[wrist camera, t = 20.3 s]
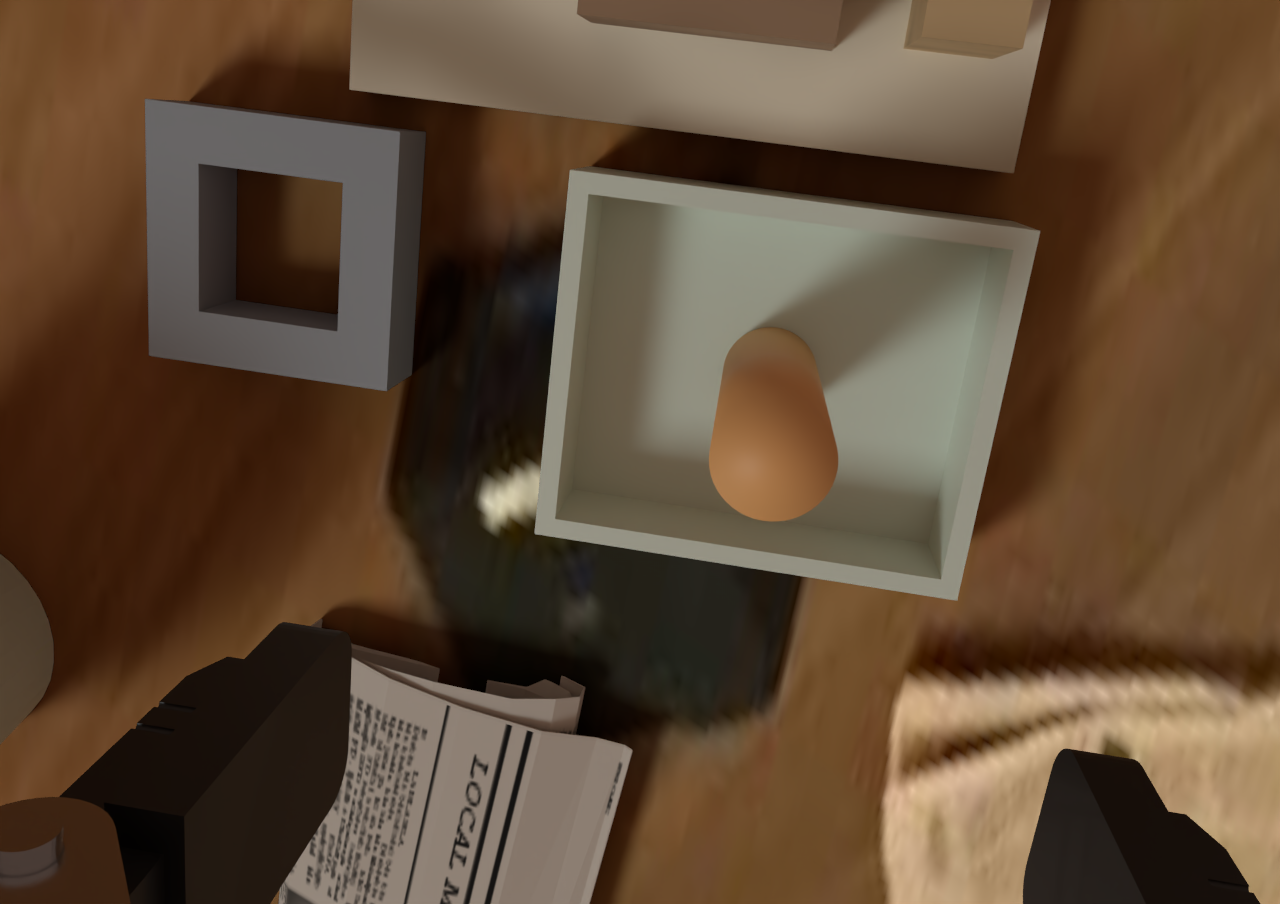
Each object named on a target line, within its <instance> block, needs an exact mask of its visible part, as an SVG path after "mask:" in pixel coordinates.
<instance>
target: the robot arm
mask: <svg viewBox="0 0 1280 904" xmlns="http://www.w3.org/2000/svg"><path fill="white" fill-rule="evenodd" d="M351 666H352V645H351V639H350V637H349V635H348V633H346V632H343V631H337V630H331V629H324V628H318V627H312V626H306V625H299V624H293V623H287V622H283V623H280V624H279V625H278V626H276V627H275V628H274V629H273V630H272V631H271V632H270V634H269V635H268V636H267V637H266V638H265V639H264V640H263V641H262V642H261V643H260V644H259V645H258V646H257V647H256V648H255V649H254V650H253V651H252V652H251V653H250V654H249V655H248V656H247V657H246V658H245V659H239V658H232V657H226V658H224V659H222V660H220V661H218V662H215V663H213V664H211V665H209V666H207V667H205V668H203V669H201V670H198V671H196V672H194V673H192V674H190V675H188V676H186V677H185V678H184V679H183V680H182V681H181V682H180V683H179V684H178V685H177V686H176V687H175V688H174V689H173V690H171V691H170V692H169V693H168V694H167V695H166V696H165V697H164V698H163V699H162V700H161V701H160V703H159V706H158V707H153V708H152V709H151V710H150V711H149V712H148V713H147V714H146V715H145V716H144V717H143V718H142V719H141V720H140V721H139V722H138V723H137V726H136V729H130V730H129V731H128V732H127V733H126V734H125V735H124V736H123V737H122V738H121V739H120V740H119V741H118V742H117V743H115V744H114V745H113V746H112V747H111V748H110V749H109V750H108V751H107V752H106V753H105V754H104V755H103V756H102V757H101V758H100V759H99V760H97V761H96V762H95V763H94V764H93V765H92V766H91V767H90V768H89V769H88V770H87V771H86V772H85V773H84V774H83V775H82V776H81V777H80V778H78V779H77V780H76V781H75V782H74V783H73V784H72V785H71V786H70V787H69V788H68V789H67V790H66V791H65V792H64V793H63V794H62V795H61V796H59V797H45V798H34V799H27V800H21V801H17V802H13V803H9V804H5V805H2V806H0V904H270V903H271V902H272V900H273V898H274V897H275V895H276V894H277V892H278V891H279V889H280V887H281V886H282V884H283V883H284V881H285V880H286V878H287V877H288V875H289V873H290V872H291V870H292V869H293V867H294V866H295V864H296V862H297V861H298V859H299V858H300V856H301V855H302V853H303V852H304V850H305V848H306V847H307V845H308V844H309V842H310V841H311V839H312V838H313V836H314V834H315V833H316V831H317V830H318V828H319V827H320V825H321V823H322V822H323V820H324V819H325V817H326V816H327V814H328V813H329V811H330V809H331V808H332V806H333V804H334V802H335V800H336V798H337V796H338V793H339V791H340V788H341V785H342V781H343V778H344V774H345V769H346V764H347V758H348V747H349V720H350V693H351ZM1248 887H1249V885H1248V884H1247V882H1246V880H1245V879H1244V877H1243V876H1242V874H1241V872H1240V871H1239V869H1238V868H1237V866H1236V865H1235V863H1234V861H1233V860H1232V858H1231V857H1230V855H1229V853H1228V852H1227V850H1226V849H1225V848H1224V847H1223V846H1222V845H1220V844H1219V843H1218V842H1217V841H1216V840H1215V839H1214V838H1212V837H1211V836H1210V835H1209V834H1208V833H1207V832H1205V831H1204V830H1203V829H1202V828H1201V827H1200V826H1199V825H1197V824H1196V823H1195V822H1194V821H1193V820H1192V819H1190V818H1189V817H1188V816H1187V815H1185V814H1179V813H1173V812H1168V810H1167V809H1166V807H1165V805H1164V803H1163V802H1162V800H1161V798H1160V797H1159V795H1158V793H1157V791H1156V790H1155V788H1154V786H1153V784H1152V783H1151V781H1150V779H1149V778H1148V776H1147V774H1146V772H1145V771H1144V769H1143V767H1142V766H1141V764H1140V763H1139V762H1138V761H1136V760H1134V759H1128V758H1122V757H1116V756H1110V755H1103V754H1097V753H1091V752H1084V751H1078V750H1072V749H1063V750H1062V751H1061V752H1060V753H1059V754H1058V756H1057V757H1056V759H1055V762H1054V764H1053V767H1052V771H1051V774H1050V778H1049V782H1048V786H1047V789H1046V793H1045V797H1044V801H1043V804H1042V808H1041V812H1040V816H1039V820H1038V823H1037V827H1036V831H1035V835H1034V838H1033V842H1032V846H1031V850H1030V854H1029V857H1028V861H1027V865H1026V870H1025V876H1024V885H1023V904H1260V903H1259V901H1258V899H1257V898H1256V896H1255V895H1254V893H1250V892H1249V890H1248Z"/></svg>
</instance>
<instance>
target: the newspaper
mask: <svg viewBox="0 0 1280 904" xmlns="http://www.w3.org/2000/svg"><path fill="white" fill-rule="evenodd" d="M322 620H323V619H320V620H318V621H317V622H316V623H314V624H313V625H311V626H312V627H318V628H322ZM337 631H339V630H337ZM351 645H352V666H351V693H350V720H349V747H348V758H347V764H346V769H345V774H344V778H343V781H342V785H341V788H340V791H339V793H338V796H337V798H336V800H335V802H334V804H333V806H332V808H331V809H330V811H329V813H328V814H327V816H326V817H325V819H324V820H323V822H322V823H321V825H320V827H319V828H318V830H317V831H316V833H315V834H314V836H313V838H312V839H311V841H310V842H309V844H308V845H307V847H306V848H305V850H304V852H303V853H302V855H301V856H300V858H299V859H298V861H297V862H296V864H295V866H294V867H293V869H292V870H291V872H290V873H289V875H288V877H287V878H286V880H285V881H284V883H283V884H282V886H281V887H280V894H279V903H278V904H590V901H591V898H592V894H593V890H594V887H595V883H596V880H597V876H598V873H599V869H600V866H601V862H602V859H603V855H604V851H605V848H606V844H607V841H608V837H609V834H610V830H611V827H612V823H613V820H614V816H615V812H616V809H617V805H618V802H619V798H620V795H621V791H622V788H623V784H624V781H625V777H626V773H627V770H628V766H629V763H630V759H631V756H632V752H633V750H632V749H631V748H629V747H628V746H626V745H624V744H620V743H617V742H613V741H609V740H605V739H601V738H598V737H590V736H581V735H576V731H577V726H578V721H579V716H580V711H581V706H582V701H583V697H584V692H585V687H584V686H582V685H580V684H578V683H576V682H574V681H572V680H570V679H568V678H566V677H564V676H561V680H560V685H559V686H558V685H557V684H555V683H553V682H550V681H548V680H546V679H545V680H542V681H540V682H537V683H535V684H533V685H530V686H528V687H524V686H518V685H513V684H507V683H501V682H496V681H490V680H487V685H486V692H485V693H483V692H478V691H473V690H469V689H464V688H460V687H455V686H451V685H446V684H442V683H438V677H439V671H440V669H439V668H437V667H434V666H431V665H428V664H425V663H422V662H419V661H416V660H413V659H409V658H405V657H401V656H397V655H393V654H389V653H385V652H381V651H377V650H373V649H369V648H366V647H362V646H358V645H355V644H352V643H351Z"/></svg>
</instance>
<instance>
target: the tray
mask: <svg viewBox="0 0 1280 904" xmlns="http://www.w3.org/2000/svg"><path fill="white" fill-rule="evenodd" d="M1039 235H1040V231H1039V230H1037V229H1034V228H1031V227H1028V226H1026V225H1023V224H1020V223H1017V222H1015V221H1010V220H1002V219H995V218H987V217H979V216H971V215H964V214H956V213H948V212H940V211H933V210H925V209H917V208H910V207H902V206H894V205H886V204H879V203H871V202H863V201H856V200H848V199H840V198H832V197H825V196H817V195H809V194H801V193H794V192H786V191H778V190H771V189H763V188H755V187H747V186H740V185H732V184H724V183H717V182H709V181H701V180H693V179H686V178H678V177H670V176H662V175H655V174H647V173H639V172H632V171H624V170H616V169H608V168H601V167H593V166H589V167H583V168H577V169H572V170H570V175H569V185H568V195H567V206H566V216H565V226H564V237H563V247H562V257H561V267H560V278H559V288H558V298H557V309H556V319H555V329H554V339H553V350H552V360H551V370H550V380H549V391H548V401H547V411H546V422H545V432H544V442H543V452H542V463H541V473H540V483H539V494H538V504H537V514H536V524H535V534H539V535H545V536H551V537H558V538H564V539H570V540H577V541H583V542H589V543H596V544H602V545H608V546H615V547H621V548H627V549H634V550H640V551H646V552H653V553H659V554H665V555H672V556H678V557H684V558H691V559H697V560H703V561H710V562H716V563H722V564H729V565H735V566H741V567H748V568H754V569H760V570H767V571H773V572H779V573H785V574H792V575H798V576H804V577H811V578H817V579H823V580H830V581H836V582H842V583H849V584H855V585H861V586H868V587H874V588H880V589H887V590H893V591H899V592H906V593H912V594H918V595H925V596H931V597H937V598H944V599H950V600H956V601H957V598H958V594H959V589H960V585H961V581H962V576H963V572H964V567H965V563H966V558H967V554H968V550H969V545H970V541H971V536H972V532H973V527H974V523H975V519H976V514H977V510H978V505H979V501H980V496H981V492H982V488H983V483H984V479H985V474H986V470H987V465H988V461H989V457H990V452H991V448H992V443H993V439H994V434H995V430H996V426H997V421H998V417H999V412H1000V408H1001V403H1002V399H1003V395H1004V390H1005V386H1006V381H1007V377H1008V372H1009V368H1010V364H1011V359H1012V355H1013V350H1014V346H1015V341H1016V337H1017V333H1018V328H1019V324H1020V319H1021V315H1022V310H1023V306H1024V302H1025V297H1026V293H1027V288H1028V284H1029V279H1030V275H1031V271H1032V266H1033V262H1034V257H1035V253H1036V249H1037V244H1038V240H1039ZM764 327H777V328H782V329H785V330H788V331H790V332H792V333H794V334H796V335H797V336H799V337H800V338H801V339H802V340H803V341H805V343H806V344H807V345H808V346H809V348H810V349H811V351H812V353H813V355H814V358H815V361H816V365H817V369H818V373H819V377H820V381H821V385H822V389H823V393H824V397H825V401H826V405H827V409H828V413H829V417H830V421H831V425H832V429H833V433H834V437H835V441H836V445H837V450H838V470H837V474H836V478H835V481H834V483H833V485H832V487H831V489H830V491H829V493H828V494H827V495H826V497H825V498H824V499H823V500H822V501H821V502H820V503H819V504H818V505H817V506H816V507H815V508H813V509H812V510H811V511H809V512H807V513H805V514H804V515H801V516H799V517H797V518H793V519H790V520H785V521H775V522H770V521H762V520H757V519H753V518H751V517H748V516H746V515H744V514H741V513H740V512H738V511H737V510H735V509H734V508H732V507H731V506H730V505H729V504H728V503H727V502H726V501H725V500H724V499H723V498H722V497H721V495H720V494H719V492H718V491H717V489H716V487H715V485H714V483H713V480H712V477H711V474H710V469H709V451H710V445H711V439H712V433H713V427H714V421H715V415H716V409H717V403H718V397H719V391H720V385H721V379H722V373H723V367H724V362H725V359H726V356H727V354H728V352H729V350H730V349H731V347H732V346H733V344H734V343H735V342H736V341H737V340H738V339H739V338H741V337H742V336H743V335H745V334H747V333H748V332H751V331H753V330H756V329H759V328H764Z"/></svg>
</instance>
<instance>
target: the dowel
mask: <svg viewBox="0 0 1280 904" xmlns="http://www.w3.org/2000/svg"><path fill="white" fill-rule="evenodd" d="M709 469H710V474H711V477H712V480H713V483H714V485H715V487H716V489H717V491H718V492H719V494H720V495H721V497H722V498H723V499H724V500H725V501H726V502H727V503H728V504H729V505H730V506H731V507H732V508H734V509H735V510H737V511H738V512H740V513H741V514H744V515H746V516H748V517H751V518H753V519H757V520H762V521H770V522H775V521H785V520H790V519H793V518H797V517H799V516H801V515H804V514H805V513H807V512H809V511H811V510H812V509H813V508H815V507H816V506H817V505H818V504H819V503H820V502H821V501H822V500H823V499H824V498H825V497H826V495H827V494H828V493H829V491H830V489H831V487H832V485H833V483H834V481H835V478H836V474H837V470H838V450H837V445H836V441H835V437H834V433H833V429H832V425H831V421H830V417H829V413H828V409H827V405H826V401H825V397H824V393H823V389H822V385H821V381H820V377H819V373H818V369H817V365H816V361H815V358H814V355H813V353H812V351H811V349H810V348H809V346H808V345H807V344H806V343H805V341H803V340H802V339H801V338H800V337H799V336H797V335H796V334H794V333H792V332H790V331H788V330H785V329H782V328H777V327H764V328H759V329H756V330H753V331H751V332H748V333H747V334H745V335H743V336H742V337H741V338H739V339H738V340H737V341H736V342H735V343H734V344H733V346H732V347H731V349H730V350H729V352H728V354H727V356H726V359H725V362H724V367H723V373H722V379H721V385H720V391H719V397H718V403H717V409H716V415H715V421H714V427H713V433H712V439H711V445H710V451H709Z"/></svg>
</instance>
